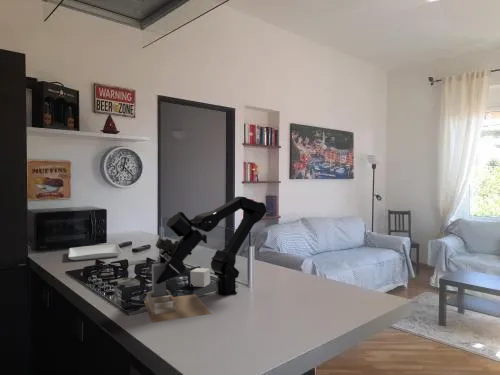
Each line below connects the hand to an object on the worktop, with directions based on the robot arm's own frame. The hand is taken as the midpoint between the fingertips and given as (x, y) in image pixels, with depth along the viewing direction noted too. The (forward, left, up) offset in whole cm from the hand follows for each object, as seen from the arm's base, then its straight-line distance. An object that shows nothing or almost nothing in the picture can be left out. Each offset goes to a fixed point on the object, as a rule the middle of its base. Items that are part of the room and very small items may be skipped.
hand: (154, 279), depth 123 cm
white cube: (-21, -19, -9) cm, 30 cm away
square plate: (+19, -102, -10) cm, 105 cm away
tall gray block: (-1, 0, -8) cm, 8 cm away
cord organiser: (-6, +6, -9) cm, 12 cm away
